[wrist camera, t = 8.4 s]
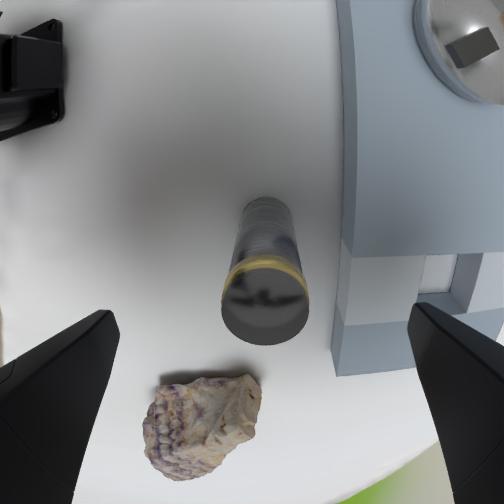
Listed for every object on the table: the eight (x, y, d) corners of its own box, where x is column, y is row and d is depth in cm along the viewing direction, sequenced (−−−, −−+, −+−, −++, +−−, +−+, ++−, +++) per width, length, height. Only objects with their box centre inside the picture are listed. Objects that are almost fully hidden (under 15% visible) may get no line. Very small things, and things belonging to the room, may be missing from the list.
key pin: (242, 246, 17) (224, 347, 10) (238, 197, 16) (215, 274, 9) (292, 244, 17) (308, 345, 10) (292, 195, 16) (312, 271, 9)
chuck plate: (330, 349, 20) (336, 376, 18) (324, -74, 9) (332, -96, 7) (476, 332, 19) (490, 352, 17) (501, -24, 9) (522, -32, 6)
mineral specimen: (177, 331, 20) (151, 404, 15) (275, 367, 21) (275, 442, 16) (142, 420, 25) (125, 475, 20) (214, 445, 26) (206, 500, 21)
